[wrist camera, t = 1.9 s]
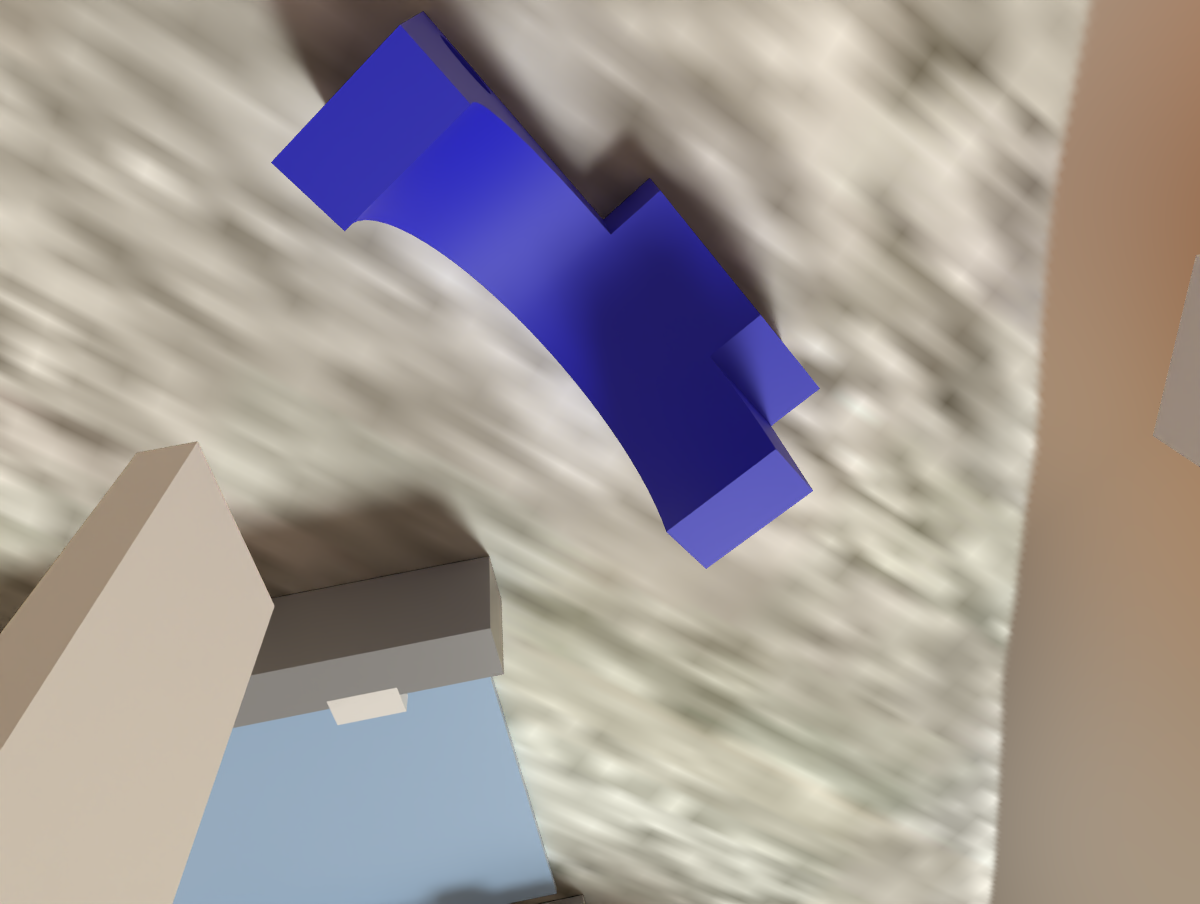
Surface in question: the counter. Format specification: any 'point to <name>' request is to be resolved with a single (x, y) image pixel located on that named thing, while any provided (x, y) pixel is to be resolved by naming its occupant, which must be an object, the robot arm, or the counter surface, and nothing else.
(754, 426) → the cable clip
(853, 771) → the counter surface
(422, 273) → the counter surface
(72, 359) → the counter surface
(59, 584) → the robot arm
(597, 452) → the counter surface
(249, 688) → the blue panel with rails
